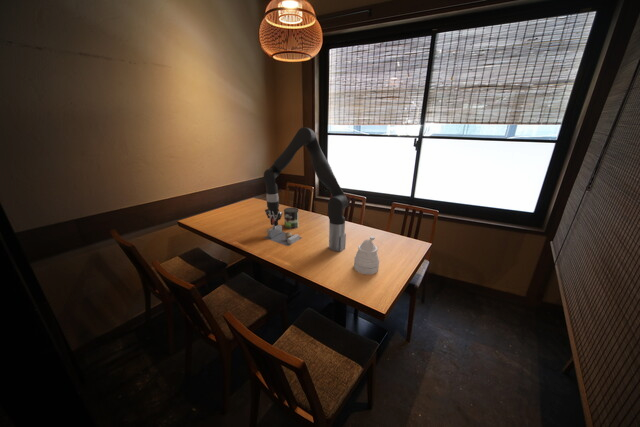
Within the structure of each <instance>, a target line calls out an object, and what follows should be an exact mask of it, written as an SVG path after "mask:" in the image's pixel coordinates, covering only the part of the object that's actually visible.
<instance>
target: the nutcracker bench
mask: <svg viewBox="0 0 640 427" xmlns="http://www.w3.org/2000/svg"><path fill="white" fill-rule="evenodd" d="M286 233H287V232H285V231H282V233H280V234H278V235H276V236H274V237H272V238H268V237H267V235H266V236H264V237H263V239H267V240H269V241H271V242H275V243H277V244H280V245H283V246H287V247H289V246H291V245H294V243H296V242H298V241H299V240H301V239H302V237H301V236H300V234H297V233H296V234H292V236H291V237H290V238H287V237H286Z"/></svg>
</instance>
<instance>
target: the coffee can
mask: <svg viewBox="0 0 640 427" xmlns="http://www.w3.org/2000/svg"><path fill="white" fill-rule="evenodd" d="M283 215H284V216H283V217H284V228H286V229H288V230H293V229H297V228H299V226H300V225H299V224H300V223H299V208H297V207H291V206H290V207H285V208H284V209H283Z"/></svg>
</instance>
